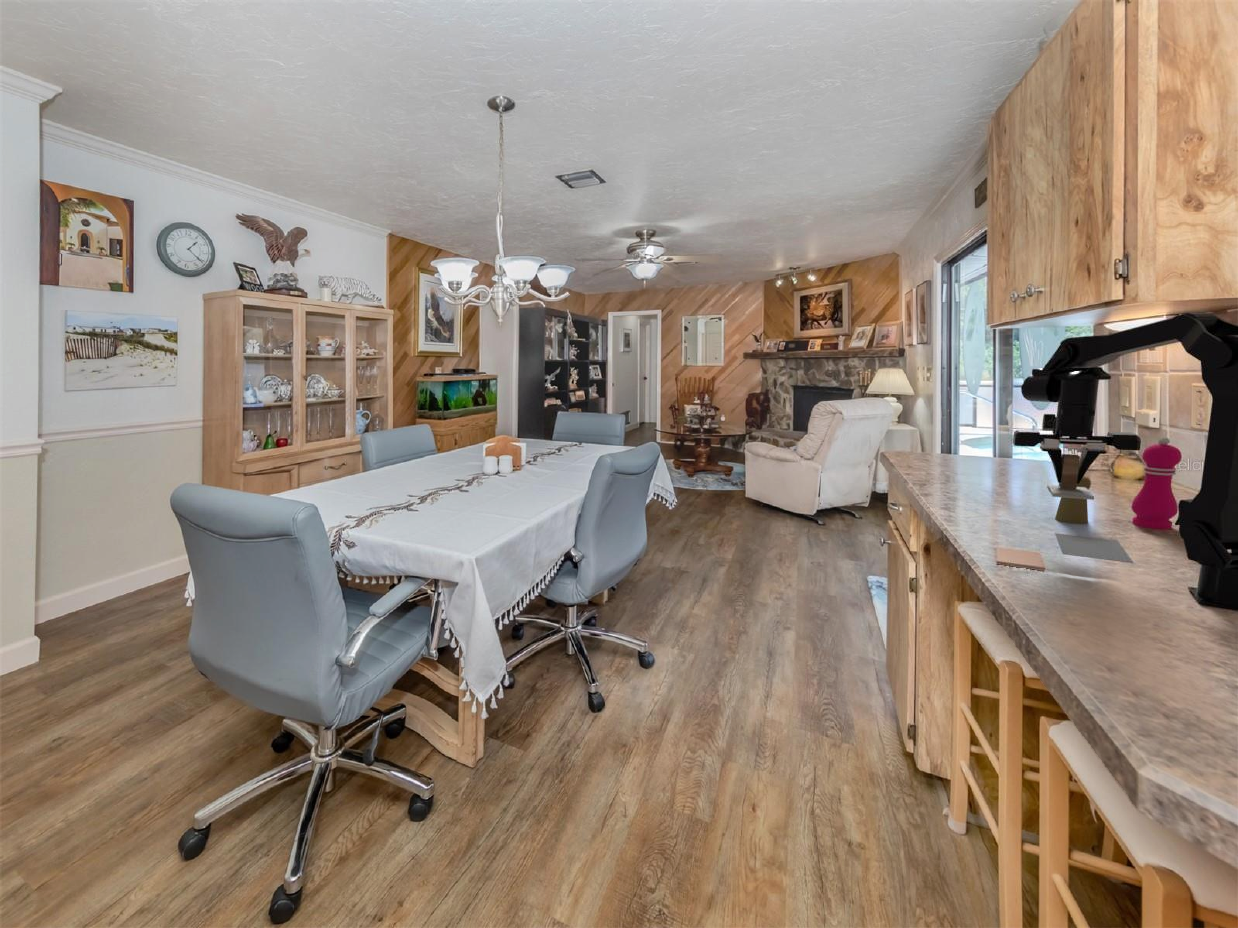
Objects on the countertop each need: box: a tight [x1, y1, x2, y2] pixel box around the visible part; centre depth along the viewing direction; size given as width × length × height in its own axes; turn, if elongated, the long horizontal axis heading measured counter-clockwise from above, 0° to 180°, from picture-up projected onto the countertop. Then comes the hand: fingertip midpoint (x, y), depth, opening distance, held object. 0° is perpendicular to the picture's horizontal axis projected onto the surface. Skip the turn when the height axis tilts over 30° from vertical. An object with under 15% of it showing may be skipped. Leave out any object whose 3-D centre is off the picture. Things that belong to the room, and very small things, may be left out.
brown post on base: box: [1046, 453, 1095, 501], centre depth 106 cm, size 9×6×7 cm, turn 148°
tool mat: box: [1054, 532, 1134, 564], centre depth 108 cm, size 15×10×1 cm, turn 146°
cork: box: [1054, 475, 1092, 525], centre depth 125 cm, size 6×6×11 cm
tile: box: [995, 546, 1046, 573], centre depth 103 cm, size 1×7×9 cm
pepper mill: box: [1131, 436, 1182, 531], centre depth 119 cm, size 7×7×20 cm
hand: (1068, 483), depth 109 cm, fingers closed on brown post on base, 2 cm apart
